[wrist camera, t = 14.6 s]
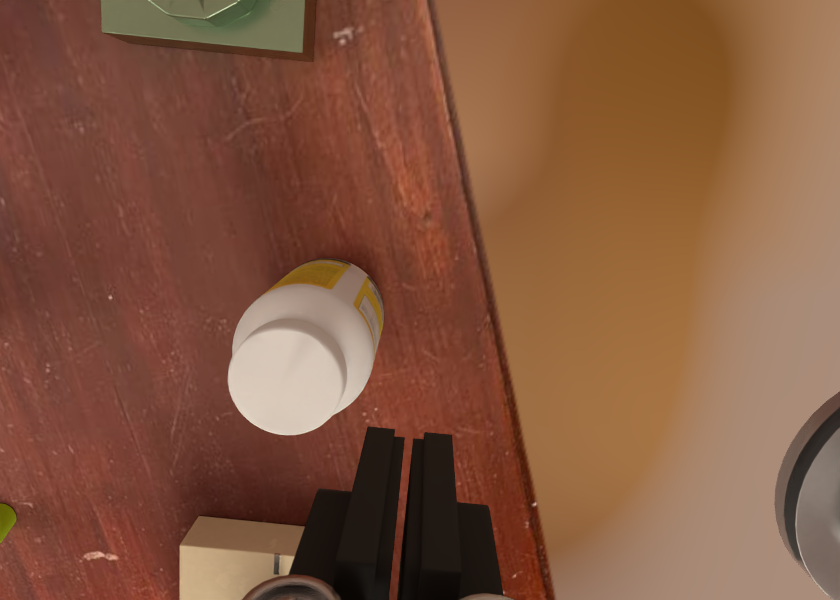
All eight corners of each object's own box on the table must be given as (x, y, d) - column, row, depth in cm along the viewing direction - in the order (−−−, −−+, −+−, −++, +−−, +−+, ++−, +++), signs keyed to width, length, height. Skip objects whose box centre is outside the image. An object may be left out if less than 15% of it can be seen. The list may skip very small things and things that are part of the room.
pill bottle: (255, 295, 34) (169, 361, 23) (343, 234, 33) (298, 271, 22) (321, 380, 35) (269, 483, 24) (407, 324, 34) (396, 403, 23)
